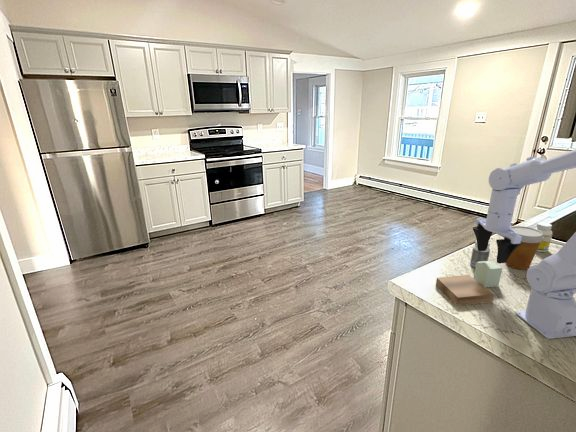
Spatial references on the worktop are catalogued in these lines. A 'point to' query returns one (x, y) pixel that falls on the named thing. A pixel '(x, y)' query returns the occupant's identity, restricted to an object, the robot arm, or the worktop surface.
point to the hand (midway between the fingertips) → (491, 256)
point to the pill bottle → (479, 254)
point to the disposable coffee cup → (525, 247)
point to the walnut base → (464, 290)
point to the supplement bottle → (547, 235)
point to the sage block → (487, 273)
